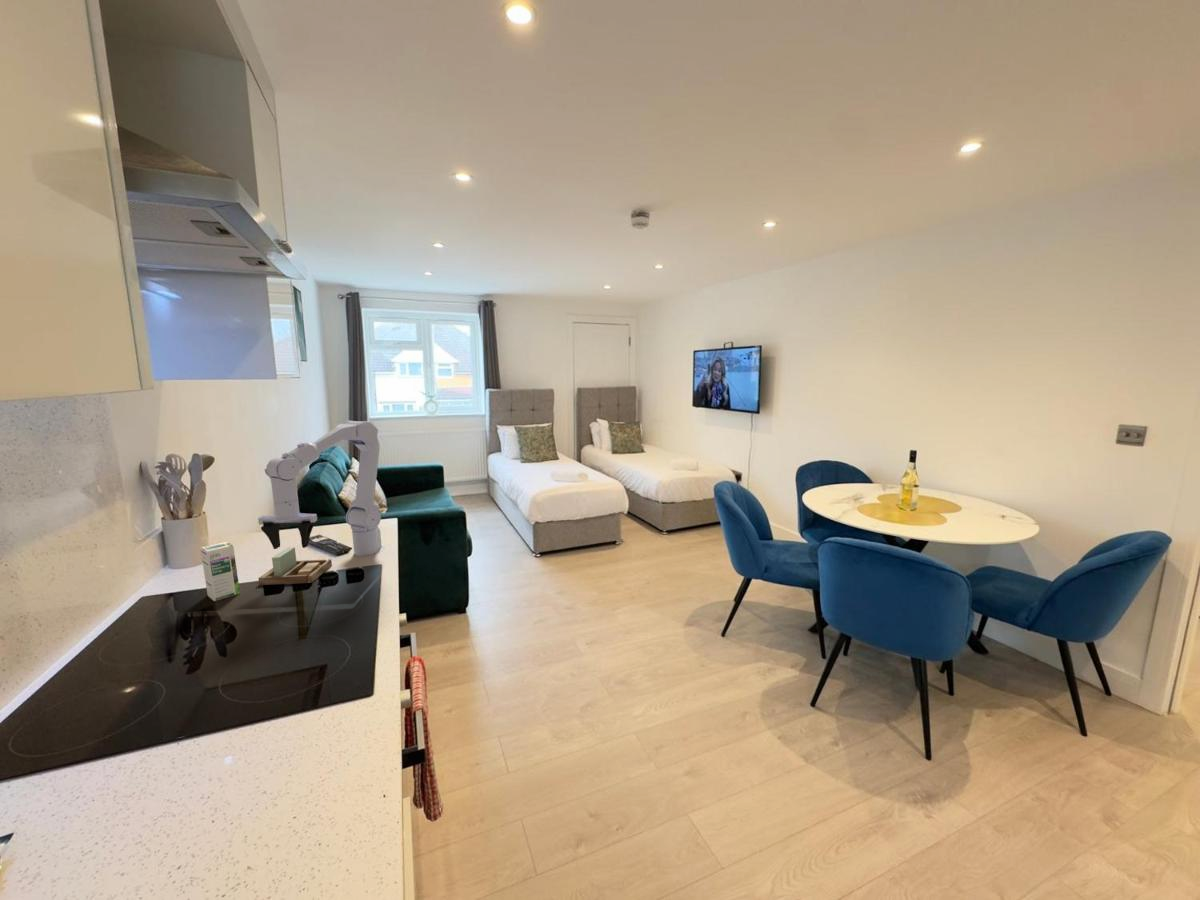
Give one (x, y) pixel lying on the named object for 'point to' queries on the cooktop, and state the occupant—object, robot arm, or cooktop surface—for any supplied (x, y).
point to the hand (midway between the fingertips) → (291, 547)
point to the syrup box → (220, 571)
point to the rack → (295, 574)
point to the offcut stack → (309, 569)
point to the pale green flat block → (284, 561)
